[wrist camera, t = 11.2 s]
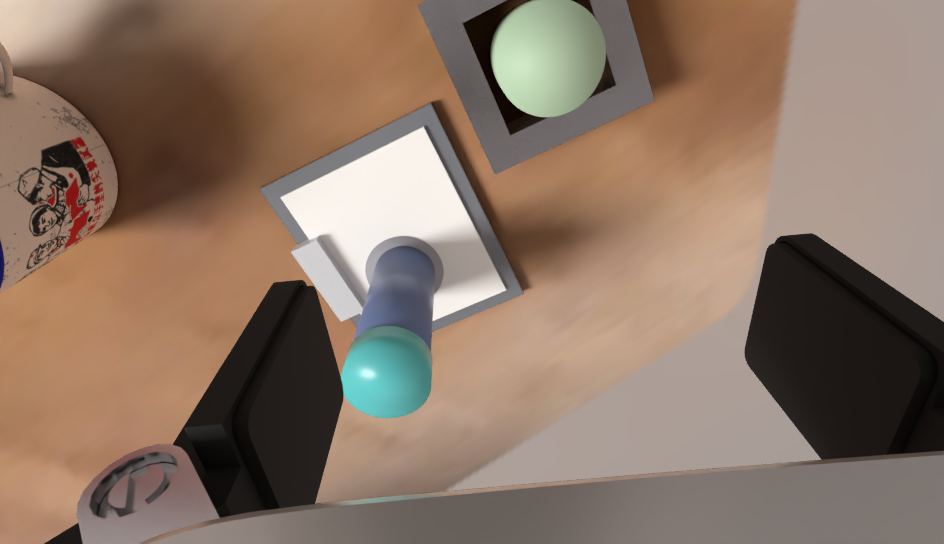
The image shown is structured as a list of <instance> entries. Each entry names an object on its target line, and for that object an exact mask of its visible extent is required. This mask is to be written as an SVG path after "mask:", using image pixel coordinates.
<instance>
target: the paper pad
mask: <svg viewBox="0 0 944 544" xmlns="http://www.w3.org/2000/svg"><path fill="white" fill-rule="evenodd" d="M259 190H260V191H261V193H262V194H263V195H264V197H265V198H266V200H267V201H268V203H269V204H270V205H271V207H272V208H273V210H274V211H275V212H276V214H277V215H278V217H279V218H280V220H281V221H282V222H283V224H284V225H285V227H286V228H287V230H288V231H289V232H290V234H291V235H292V237H293V238H294V239H295V241H296V242H297V244H298V245H296V246H294V248H293V250H292V251H291V253H292V254H293V256H294V257H295V259H296V260H297V261H298V263H299V264H300V266H301V267H302V268H303V270H304V271H305V272H306V274H307V275H308V277H309V278H310V279H311V281H312V282H313V284H314V285H315V286H316V288H317V289H318V291H319V292H320V293H321V295H322V296H323V298H324V299H325V300H326V302H327V303H328V304H329V306H330V307H331V309H332V310H333V311H334V313H335V314H336V316H337V317H338V318H339V320H340V321H344V320H346V319H348V318H350V319H351V320H352V322H353V323H354V325H355V326H356V327H357V328H358V325H359V321H360V318H361V314H362V311H363V307H364V304H365V301H366V297H367V294H368V290H369V287H370V283H371V280H372V277H373V273H374V270H375V266H376V263H377V261H378V259H379V258H380V256H381V255H382V254H383V253H385V252H386V251H387V250H389V249H391V248H394V247H399V246H409V247H414V248H416V249H419V250H421V251H422V252H424V253H425V254H426V255H427V256H428V257H429V258H430V259H431V261H432V263H433V265H434V268H435V287H434V304H433V321H432V332H433V331H436V330H438V329H440V328H443V327H445V326H448V325H450V324H452V323H455V322H457V321H460V320H462V319H464V318H467V317H469V316H472V315H474V314H476V313H479V312H481V311H484V310H486V309H488V308H491V307H493V306H496V305H498V304H500V303H503V302H505V301H508V300H510V299H513V298H515V297H517V296H520V295H522V294H524V293H523V290H522V288H521V286H520V283H519V281H518V279H517V277H516V275H515V273H514V271H513V269H512V267H511V265H510V263H509V261H508V259H507V257H506V255H505V253H504V251H503V249H502V247H501V244H500V242H499V240H498V238H497V236H496V234H495V232H494V230H493V228H492V226H491V224H490V222H489V220H488V218H487V216H486V214H485V212H484V210H483V208H482V206H481V203H480V201H479V199H478V197H477V195H476V193H475V191H474V189H473V187H472V185H471V183H470V181H469V179H468V177H467V175H466V173H465V171H464V169H463V167H462V165H461V162H460V160H459V158H458V156H457V154H456V152H455V150H454V148H453V146H452V144H451V142H450V140H449V138H448V136H447V134H446V132H445V130H444V128H443V126H442V123H441V121H440V119H439V117H438V115H437V113H436V111H435V109H434V107H433V105H432V103H431V102H430V103H428V104H426V105H424V106H422V107H420V108H418V109H416V110H414V111H412V112H410V113H408V114H406V115H404V116H402V117H400V118H398V119H396V120H394V121H392V122H390V123H388V124H386V125H384V126H382V127H380V128H378V129H376V130H374V131H372V132H370V133H368V134H366V135H364V136H362V137H360V138H358V139H356V140H354V141H352V142H350V143H348V144H346V145H344V146H342V147H340V148H338V149H336V150H334V151H332V152H330V153H328V154H326V155H324V156H322V157H320V158H318V159H316V160H314V161H312V162H310V163H308V164H306V165H304V166H302V167H300V168H298V169H296V170H294V171H292V172H290V173H288V174H286V175H284V176H282V177H280V178H278V179H276V180H274V181H272V182H270V183H268V184H266V185H264V186H262V187H261V188H260V189H259Z"/></svg>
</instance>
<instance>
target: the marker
mask: <svg viewBox="0 0 944 544" xmlns="http://www.w3.org/2000/svg"><path fill="white" fill-rule="evenodd" d="M434 287H435V268H434V265H433V263H432V261H431V259H430V258H429V257H428V256H427V255H426V254H425V253H424V252H422V251H421V250H419V249H416V248H414V247H409V246H399V247H394V248H391V249H389V250H387V251H386V252H385V253H383V254H382V255H381V256H380V258H379V259H378V261H377V263H376V266H375V270H374V273H373V277H372V280H371V283H370V287H369V290H368V294H367V297H366V301H365V304H364V307H363V311H362V314H361V318H360V321H359V325H358V328H357V332H356V335H355V338H354V341H353V342H352V344H351V346H350V348H349V350H348V354H347V357H346V360H345V364H344V367H343V371H342V374H341V381H342V385H343V394H344V396H345V397H346V399H347V400H348V401H349V402H350V404H352V405H353V406H354V407H355V408H357V409H358V410H360V411H361V412H363V413H366V414H368V415H371V416H375V417H380V418H396V417H401V416H405V415H408V414H410V413H412V412H414V411H415V410H417V409H418V408H420V407H421V406H422V405H423V404H424V403H425V401H426V400H427V398H428V396H429V394H430V390H431V379H432V354H431V338H432V321H433V304H434Z"/></svg>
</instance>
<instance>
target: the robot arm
mask: <svg viewBox="0 0 944 544" xmlns="http://www.w3.org/2000/svg"><path fill="white" fill-rule="evenodd" d="M745 358H746V361H747V364H748V365H749V367H750V368H751V370H752V371H753V372H754V374H755V375H756V376H757V377H758V379H759V380H760V381H761V382H762V384H763V385H764V386H765V388H766V389H767V390H768V391H769V393H770V394H771V395H772V397H773V398H774V399H775V400H776V402H777V403H778V404H779V406H780V407H781V408H782V409H783V411H784V412H785V413H786V414H787V416H788V417H789V418H790V419H791V421H792V422H793V423H794V425H795V426H796V427H797V429H798V430H799V431H800V432H801V434H802V435H803V436H804V438H805V439H806V440H807V441H808V443H809V444H810V445H811V447H812V448H813V449H814V450H815V452H816V453H817V454H818V455H819V457H820V458H821V459H822V460H814V461H800V462H787V463H775V464H763V465H749V466H738V467H724V468H712V469H701V470H688V471H676V472H664V473H652V474H639V475H628V476H616V477H604V478H592V479H581V480H569V481H558V482H545V483H534V484H522V485H511V486H500V487H490V488H478V489H467V490H455V491H444V492H433V493H422V494H411V495H399V496H389V497H378V498H368V499H358V500H347V501H337V502H326V503H318V504H315V501H316V498H317V494H318V490H319V487H320V483H321V479H322V476H323V472H324V468H325V465H326V461H327V457H328V454H329V450H330V446H331V443H332V439H333V435H334V432H335V428H336V424H337V421H338V417H339V413H340V410H341V406H342V402H343V385H342V381H341V377H340V373H339V370H338V366H337V363H336V359H335V356H334V352H333V348H332V345H331V341H330V338H329V334H328V330H327V327H326V323H325V320H324V316H323V313H322V309H321V305H320V302H319V298H318V295H317V292H316V289H315V287H314V286H307V285H306V283H305V282H304V281H303V280H296V281H285V282H275V283H273V285H272V286H271V287H270V289H269V291H268V292H267V294H266V296H265V297H264V299H263V300H262V302H261V304H260V305H259V307H258V308H257V310H256V312H255V313H254V315H253V316H252V318H251V320H250V321H249V323H248V325H247V326H246V328H245V329H244V331H243V333H242V334H241V336H240V337H239V339H238V341H237V342H236V344H235V345H234V347H233V349H232V350H231V352H230V354H229V355H228V356H227V358H226V360H225V361H224V363H223V364H222V366H221V368H220V369H219V371H218V373H217V374H216V376H215V377H214V379H213V381H212V382H211V384H210V385H209V387H208V389H207V390H206V392H205V393H204V395H203V397H202V398H201V400H200V402H199V403H198V405H197V406H196V408H195V410H194V411H193V413H192V414H191V416H190V418H189V419H188V421H187V422H186V424H185V426H184V427H183V429H182V430H181V432H180V434H179V435H178V437H177V439H176V440H175V442H174V443H173V445H172V444H157V445H152V446H148V447H144V448H141V449H138V450H136V451H134V452H131V453H129V454H127V455H125V456H123V457H121V458H120V459H118V460H116V461H115V462H113V463H112V464H110V465H109V466H107V467H106V468H105V469H104V470H103V471H102V472H100V473H99V474H98V475H97V476H96V477H95V478H94V479H93V480H92V481H91V482H90V484H89V485H88V486H87V487H86V488H85V490H84V491H83V493H82V495H81V497H80V500H79V502H78V505H77V518H78V523H77V524H76V525H74V526H72V527H71V528H69V529H67V530H66V531H64V532H63V533H61V534H59V535H58V536H56V537H54V538H53V539H51V540H50V541H48V542H46V543H45V544H944V322H943V321H941V320H940V319H938V318H937V317H935V316H934V315H932V314H931V313H930V312H928V311H927V310H925V309H924V308H922V307H921V306H919V305H918V304H916V303H914V302H913V301H912V300H910V299H909V298H907V297H906V296H905V295H903V294H902V293H900V292H898V291H897V290H896V289H894V288H893V287H891V286H890V285H888V284H887V283H885V282H884V281H882V280H881V279H880V278H878V277H877V276H875V275H874V274H872V273H871V272H869V271H868V270H866V269H865V268H863V267H862V266H860V265H859V264H857V263H856V262H854V261H853V260H852V259H850V258H848V257H847V256H846V255H844V254H843V253H841V252H840V251H838V250H837V249H835V248H834V247H832V246H831V245H830V244H828V243H827V242H825V241H824V240H822V239H821V238H819V237H818V236H816V235H814V234H799V235H788V236H781V237H779V238H777V240H776V241H775V243H774V244H771V245H770V246H769V247H768V248H767V251H766V255H765V259H764V264H763V268H762V273H761V277H760V282H759V286H758V291H757V296H756V300H755V305H754V309H753V314H752V319H751V323H750V327H749V332H748V337H747V341H746V346H745Z"/></svg>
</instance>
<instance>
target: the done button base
mask: <svg viewBox="0 0 944 544" xmlns="http://www.w3.org/2000/svg"><path fill="white" fill-rule="evenodd" d="M504 1H506V0H426V1H424V2H423V3H421V4H419V5H417V6H418V8H419V10H420V12H421V14H422V16H423V19H424V21H425V23H426V25H427V27H428V30H429V32H430V34H431V36H432V38H433V40H434V43H435V45H436V47H437V49H438V51H439V54H440V56H441V58H442V60H443V62H444V64H445V67H446V69H447V71H448V73H449V75H450V77H451V80H452V82H453V84H454V86H455V88H456V91H457V93H458V95H459V97H460V99H461V101H462V104H463V106H464V108H465V110H466V112H467V115H468V117H469V119H470V121H471V123H472V125H473V128H474V130H475V132H476V134H477V136H478V138H479V141H480V143H481V145H482V147H483V149H484V152H485V154H486V156H487V158H488V160H489V162H490V165H491V167H492V169H493V171H494V173H495V174H497V173H499V172H501V171H504V170H506V169H508V168H510V167H512V166H514V165H517V164H519V163H521V162H523V161H525V160H527V159H530V158H532V157H534V156H536V155H538V154H540V153H543V152H545V151H547V150H549V149H551V148H553V147H555V146H558V145H560V144H562V143H564V142H566V141H568V140H571V139H573V138H575V137H577V136H579V135H581V134H584V133H586V132H588V131H590V130H592V129H594V128H597V127H599V126H601V125H603V124H605V123H607V122H609V121H612V120H614V119H616V118H618V117H620V116H622V115H625V114H627V113H629V112H631V111H633V110H635V109H638V108H640V107H642V106H644V105H646V104H648V103H651V102H653V101H654V97H653V94H652V90H651V87H650V83H649V79H648V76H647V72H646V69H645V65H644V61H643V58H642V54H641V51H640V47H639V44H638V40H637V36H636V33H635V29H634V26H633V22H632V19H631V15H630V11H629V8H628V4H627V1H626V0H577V2H578V4H580V5H582V6H583V7H584V8H586V9H587V10H588V11H589V12H590V13H591V14H592V15H593V16H594V18H595V19H596V20H597V22H598V24H599V26H600V27H601V30H602V33H603V36H604V40H605V46H606V60H605V66H604V70H603V74H602V76H601V77H602V78H601V79H600V81H599V83H598V85H597V87H596V89H595V90H594V92H593V93H592V94H591V95H590V97H589V98H588V99H587V100H586V101H585V102H584V103H583V104H581V105H580V106H579V107H577V108H576V109H574V110H572V111H570V112H568V113H566V114H563V115H560V116H555V117H538V116H534V115H530V114H526V115H524V116H522V117H520V118H518V119H516V120H514V121H512V122H510V123H508V124H505V122H504V120H503V117H502V115H501V113H500V110H499V108H498V106H497V103H496V101H495V99H494V96H493V94H492V92H491V89H490V87H489V85H488V82H487V80H486V77H485V75H484V73H483V70H482V68H481V66H480V63H479V61H478V59H477V56H476V54H475V52H474V49H473V47H472V45H471V42H470V40H469V38H468V35H467V33H466V31H465V28H464V26H463V24H462V23H464V22H466V21H468V20H470V19H472V18H474V17H476V16H478V15H479V14H481V13H483V12H485V11H487V10H489V9H491V8H493V7H495V6H497V5H499V4H501V3H502V2H504Z"/></svg>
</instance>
